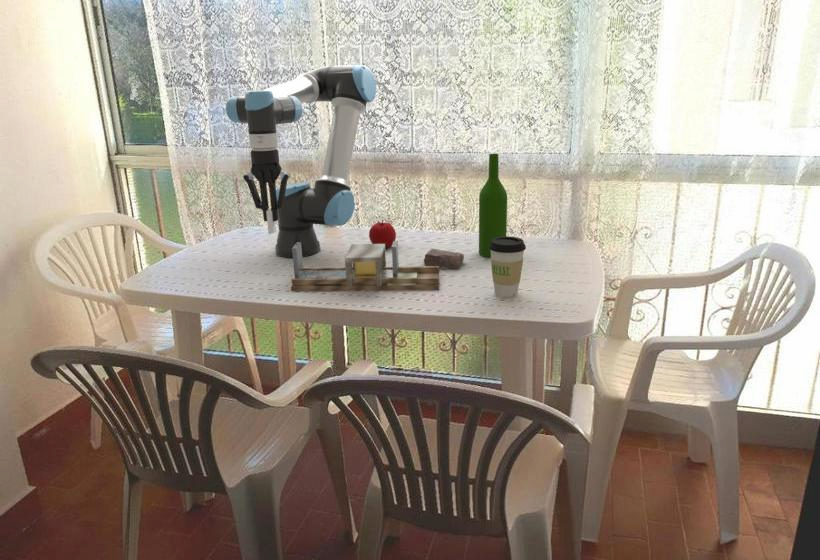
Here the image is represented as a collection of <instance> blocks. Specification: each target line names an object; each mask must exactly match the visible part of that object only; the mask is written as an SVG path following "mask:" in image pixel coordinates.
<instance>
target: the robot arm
mask: <svg viewBox="0 0 820 560" xmlns="http://www.w3.org/2000/svg"><path fill="white" fill-rule="evenodd" d="M376 85H377V84H376V80H375V76H374V73H373V72H372V70H371V69H370V68H369V67H368V66H366V65H362V64H361V65H360V64H351V65H350V64H349V65H326V66H325V65H324V66H321V67H318V68H315V69H313V70H309V71H307V72H303V73H301V74H299V75H298V76H297V77H296V78H295V79H293V80H290V81H287V82H284V83H280V84H278V85H275V86H271V87H269V88H266V89H259V90H248V91H246V92H245V95H243V96H241V95H237V96H231V97H229V98H228V100H227V101H226V104H225V110H226V115H227V118H228V119H229V120H230V121H231V122H233V123H238V124H239V123H240V124H247V129H248V140H249V148H250V149H251V150H250V162H251V168H250V171H249V172H247V173H246V174H244V175H243V176H242V178H243V180H244V181H245V182H246V184H247V186H248V189H249V191H250V194H251V195H250V196H251V197H252V201H253V203H254V205H255V208H256V209H259V210H261V211H262V214H263V221H264V222H266V223H267V224H266V225H267V231H268V233H267V234H275V233H276V232H277V228H276V222H277V225H278V234H277V239H276V244H275V255H277V256H279V257H282V258H293V254H292V248H293V246H294V245H295V244H296V243H297V242H301V248H302V258H303V257H308V256H312V255H315V254H318V253H319V252H320V251H321V243H320V241H319V240H318V237H317V233H316V231H315V227H314V225H320V226H323V225H324V226H329V227H338V226H339V227H340V226H341V227H342V226H345V224H347V223H348V222H349V221H350V220H351V218H352V217H353V215H354V212H355V207H356V202H355V195H354V194H353V192H351V186H350V184H349V183H348V179H349V175H350V168H351V163H352V159H353V153H354V148H355V141H356V138H357V137H356V136H357V131H358V127H359V122H360V116H361V114H362V113H364V112H365V111H366V108H367V103H371V102H373V101H374V99H375V98H376V94H377V86H376ZM315 102H330V103H331V105H332V106H333V109H334V110H333V114H332V119H331V124H330V130H329V134H328V135H329V136H328V139H327V146H326V150H325V154H324V155H325V156H324V161H323V166H322V172H321V175H320V177H319V178H318V179H316V180H315V182H314V188H311V187H312V186H311V184H310V182H298V183H297V182H296V183H290V184H288V181H289V179H290V177H291V174H290V173H289V172H285V171H284V170H282V169H283V168H282V167H281V165H280V156H279V150H278V148H277V147H279V143H278V135H277V125H283V124H292V123H295V122H298V121H299V120H300V119H301V118H302V116H303V112H304V111H303V110H304V109H303V108H304V107H303V105H302V104H304V103H306V104H313V103H315ZM279 176H280V177H279ZM278 178H280V180H281V181H280V184H279V187H277V186H276V185H277V184H276V183H277V180H278ZM254 179H255V180H257V181H258V185H259V190H260V193H259V192H258V191H259V190H258V188H257V185H256V182H255V180H254ZM268 189H269V196H268ZM259 194H260V195H259ZM269 199H270V201H269ZM269 202H270V206H269Z"/></svg>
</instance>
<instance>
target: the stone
mask: <svg viewBox="0 0 820 560" xmlns="http://www.w3.org/2000/svg"><path fill="white" fill-rule="evenodd" d="M464 256H465V254H464V253H461V252H454V251H450V250H444V249H443V250H441V249H437V248H436V249H435V248H431V249H430V250H428V251H427V253H426V254H425V255H424V258H423V265H424V266H439V269H441V268H443V269H453V270H459V269H461V267H462V265H463V264H464V263H463V262H464V258H465V257H464Z"/></svg>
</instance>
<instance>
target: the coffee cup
mask: <svg viewBox="0 0 820 560" xmlns="http://www.w3.org/2000/svg"><path fill="white" fill-rule="evenodd" d="M526 247H527V246H526V243H525V242H524V239H522V238H520V237H517V236H507V235H506V237H497V238H494V239H492V240H491V243H490V244H489V249H490V251H491V258H490V265H491V273H492V274H491V275H492V282H493V287H494V295H495V296H497V297H500V298H513V297H517V296H518V293H519V285H520V282H521V276H522V271H523V263H524V252H525V250H526Z"/></svg>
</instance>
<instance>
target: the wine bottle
mask: <svg viewBox="0 0 820 560" xmlns="http://www.w3.org/2000/svg"><path fill="white" fill-rule="evenodd" d="M478 196H479V199H478V207H479V208H478V254H479V256H481V257H483V258H487V259H491V251H490V249H489V244H490V243H491V240H492V239H494V238H497V237H506V236H507V229H508V228H507V225H508V224H507V223H508V221H507V220H508V193H507V190H506V189H505V187H504V185H503V183H502V182H501V179H500V177H499V154H498V153H490V154H488V178H487V180H486V182H485V184H484V185H483V186H482V188H481V189H480V192H479V195H478Z"/></svg>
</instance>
